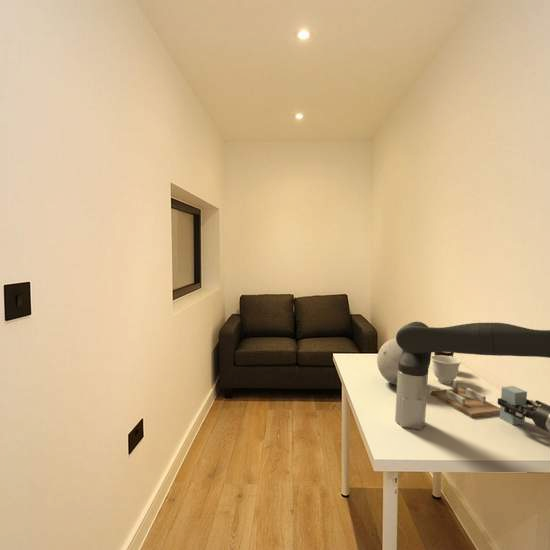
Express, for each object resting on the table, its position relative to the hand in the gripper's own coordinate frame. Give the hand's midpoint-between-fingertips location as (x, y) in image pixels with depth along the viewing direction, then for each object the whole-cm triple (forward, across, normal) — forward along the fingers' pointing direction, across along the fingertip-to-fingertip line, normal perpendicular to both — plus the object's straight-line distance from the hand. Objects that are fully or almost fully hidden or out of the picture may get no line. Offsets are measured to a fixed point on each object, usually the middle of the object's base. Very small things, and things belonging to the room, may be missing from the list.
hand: (508, 399), depth 122 cm
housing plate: (+13, +5, +6) cm, 15 cm away
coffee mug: (+48, -15, +7) cm, 50 cm away
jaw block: (-2, 0, +6) cm, 7 cm away
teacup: (+35, -5, +7) cm, 36 cm away
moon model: (+34, +18, +7) cm, 39 cm away
